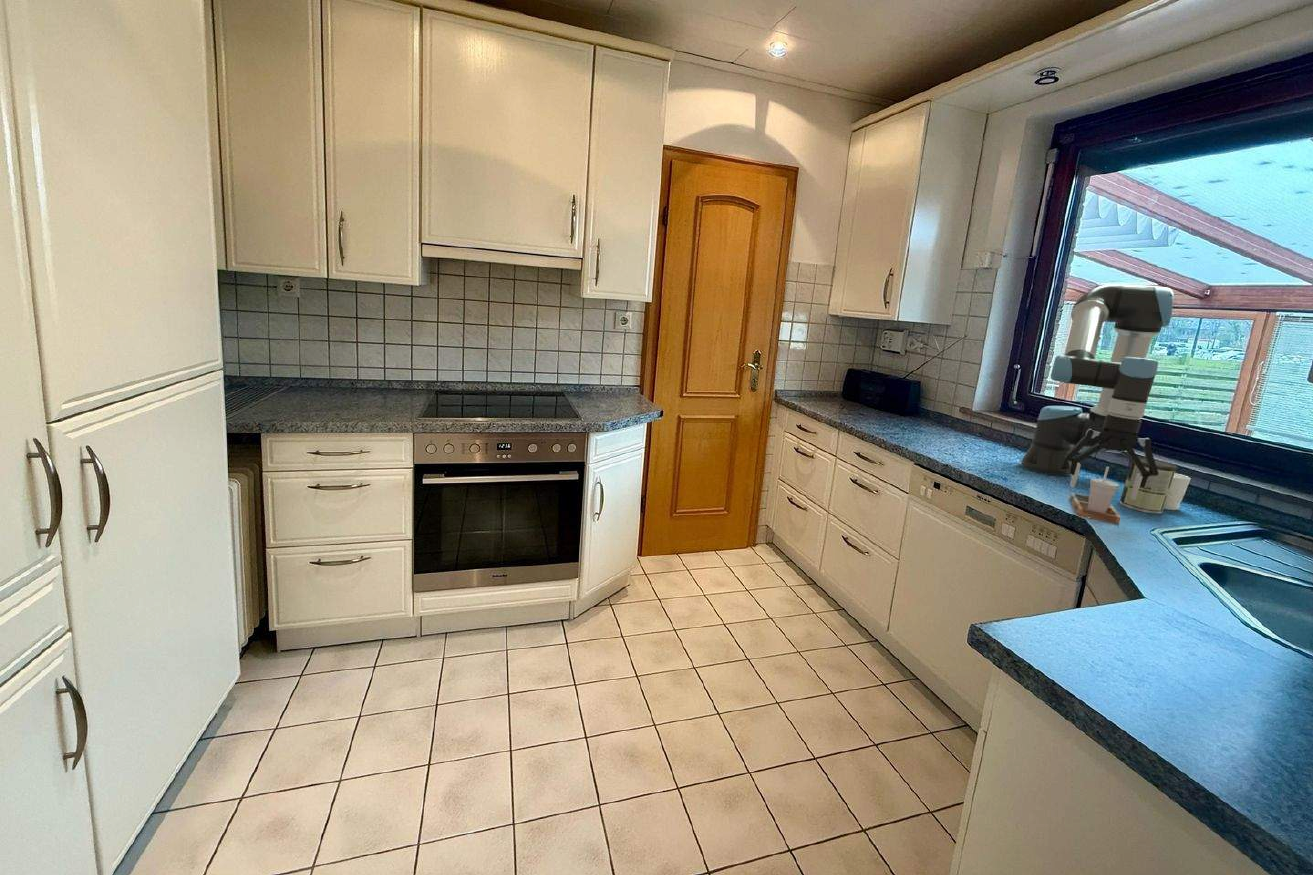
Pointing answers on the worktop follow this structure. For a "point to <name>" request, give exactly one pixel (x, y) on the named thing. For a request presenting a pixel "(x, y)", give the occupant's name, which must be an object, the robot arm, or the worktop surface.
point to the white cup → (1176, 491)
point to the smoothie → (1101, 493)
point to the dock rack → (1081, 509)
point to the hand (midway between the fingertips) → (1101, 492)
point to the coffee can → (1149, 487)
